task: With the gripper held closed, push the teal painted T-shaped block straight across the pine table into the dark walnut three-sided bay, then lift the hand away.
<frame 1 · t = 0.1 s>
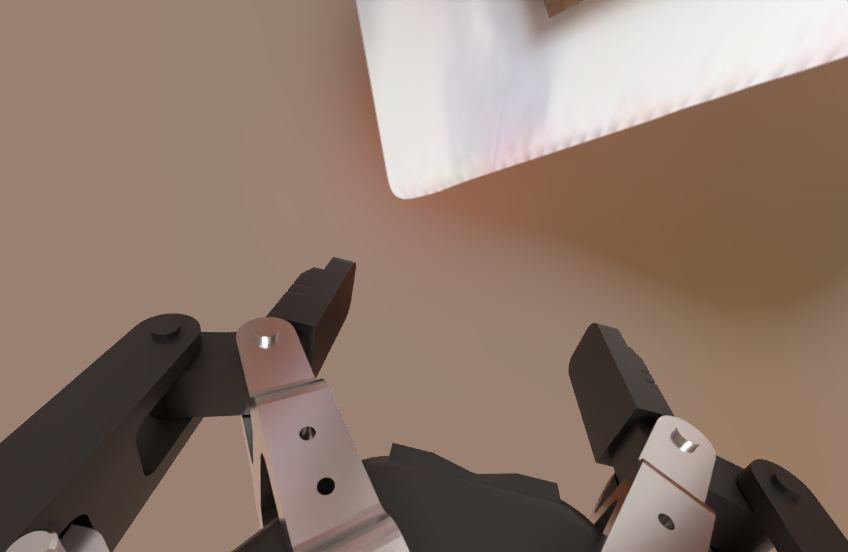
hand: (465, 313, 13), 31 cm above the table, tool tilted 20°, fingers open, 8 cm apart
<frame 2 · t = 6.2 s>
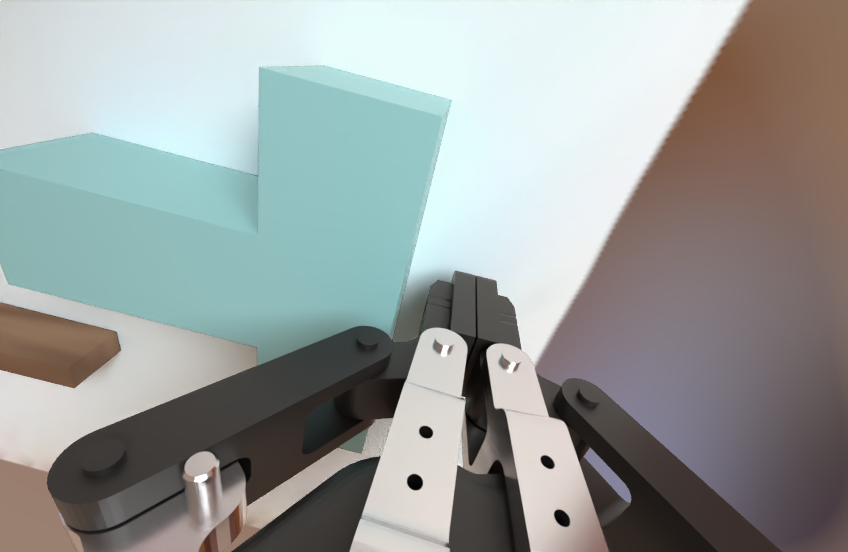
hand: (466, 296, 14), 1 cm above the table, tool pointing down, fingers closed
T-block: (258, 227, 14), on the table, touching gripper
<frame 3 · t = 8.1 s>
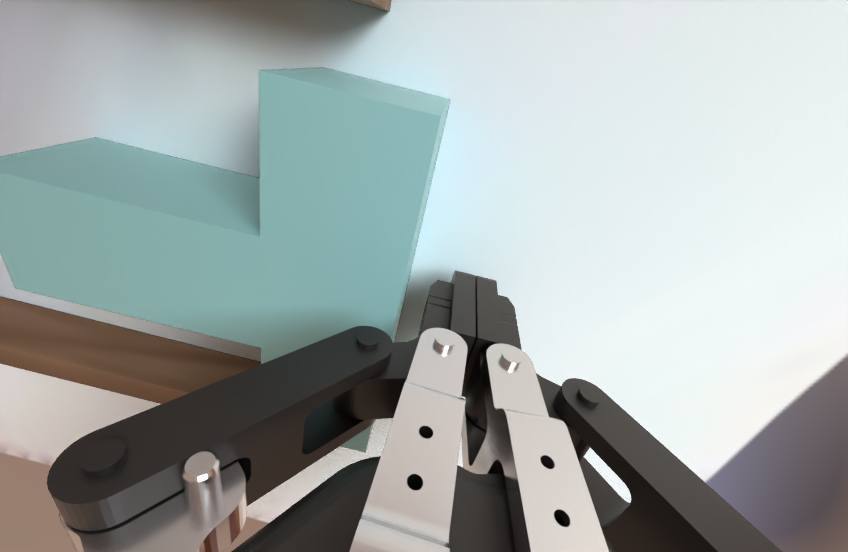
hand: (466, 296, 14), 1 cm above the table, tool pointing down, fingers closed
bay: (122, 184, 14), on the table
T-block: (260, 228, 14), on the table, touching gripper
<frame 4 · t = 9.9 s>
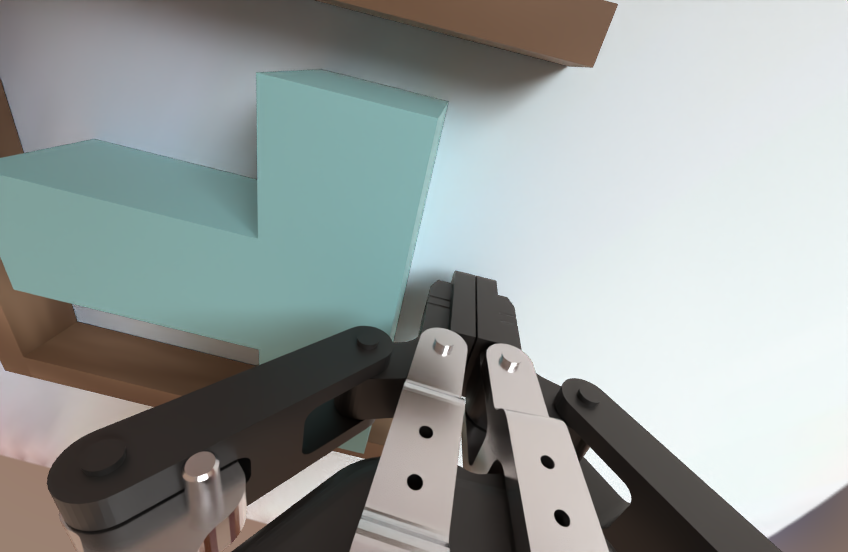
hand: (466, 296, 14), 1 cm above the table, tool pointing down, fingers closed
bay: (260, 226, 14), on the table
T-block: (258, 230, 14), on the table, touching gripper
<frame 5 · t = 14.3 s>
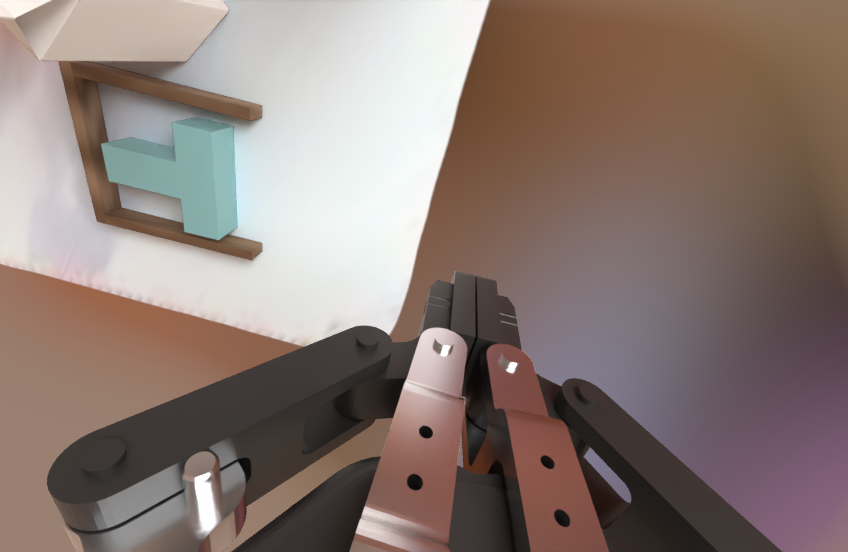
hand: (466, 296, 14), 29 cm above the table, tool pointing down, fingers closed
milk carton: (180, 1, 36), on the table
bay: (185, 166, 43), on the table
T-block: (185, 167, 44), on the table
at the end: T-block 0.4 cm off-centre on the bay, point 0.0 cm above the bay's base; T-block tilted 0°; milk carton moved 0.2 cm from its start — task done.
